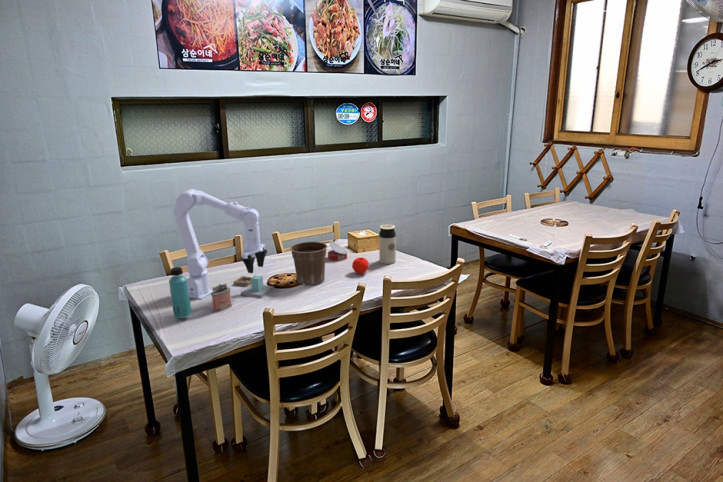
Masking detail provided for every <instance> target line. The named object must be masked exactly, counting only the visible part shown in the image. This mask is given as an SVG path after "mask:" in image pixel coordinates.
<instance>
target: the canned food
mask: <svg viewBox="0 0 723 482" xmlns="http://www.w3.org/2000/svg"><path fill="white" fill-rule="evenodd" d="M329 247H330V248H331V249H332V250H330V251H328V252H327V259H328V260H329V261H332V262H341V261H345V260H347V259H348V251H347V250H346V249H345V248H344V247H342V246H341V245H339V244H338V243H336V242H335V241H333V240H330V241H329Z"/></svg>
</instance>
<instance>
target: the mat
mask: <svg viewBox="0 0 723 482" xmlns="http://www.w3.org/2000/svg"><path fill="white" fill-rule="evenodd" d="M273 290H275V286H273V285H266V284H263V289H262V290H260V291H253V290H252V286H251V285H249V286H247V287H246V288H245V289H243V291H240V295H241V296H248V297H256V298H263V297H265V296H266V295H267V294H269V293H271V292H272V291H273Z"/></svg>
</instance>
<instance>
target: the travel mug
mask: <svg viewBox="0 0 723 482" xmlns="http://www.w3.org/2000/svg"><path fill="white" fill-rule="evenodd" d="M395 228H396V225H394V224H381V225H380V226H379V229H380V231H379V235H378V236H379V237H378V239H379V240H378V241H379V242H378V243H379V244H378V245H379V253H378V254H379V262H380V263H382V264H385V265H391V264H394V263H395V262H396V259H397V257H396V256H397V255H396V253H397V252H396V251H397V250H396V247H397V245H396V243H397V239H396V238H397V237H396V235H397V232H396V230H395Z"/></svg>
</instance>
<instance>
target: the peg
mask: <svg viewBox="0 0 723 482" xmlns="http://www.w3.org/2000/svg"><path fill="white" fill-rule="evenodd" d="M251 277H252V278H251V285H250V286H252V290H253V291H260V290H262V289H263V285H264V279H263V276H262V275H257V274H256V275H253V276H251Z"/></svg>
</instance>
